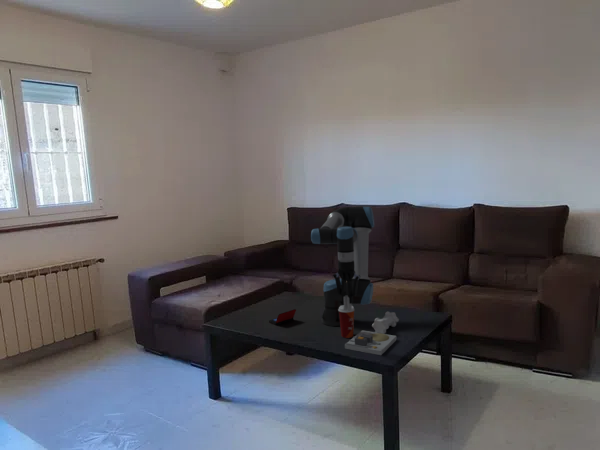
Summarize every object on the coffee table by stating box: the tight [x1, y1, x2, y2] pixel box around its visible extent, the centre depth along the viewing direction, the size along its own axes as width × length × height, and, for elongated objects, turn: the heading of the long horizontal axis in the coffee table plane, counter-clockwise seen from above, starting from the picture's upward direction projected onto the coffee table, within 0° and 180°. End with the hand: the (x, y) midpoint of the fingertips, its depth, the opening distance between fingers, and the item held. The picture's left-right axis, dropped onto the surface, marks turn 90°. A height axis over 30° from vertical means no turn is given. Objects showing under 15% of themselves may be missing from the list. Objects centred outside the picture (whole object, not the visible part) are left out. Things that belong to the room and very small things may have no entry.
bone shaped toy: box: [371, 311, 400, 334], centre depth 235 cm, size 15×9×8 cm, turn 143°
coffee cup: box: [338, 305, 356, 339], centre depth 229 cm, size 8×8×15 cm
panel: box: [344, 330, 397, 356], centre depth 217 cm, size 18×20×5 cm
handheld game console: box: [268, 308, 297, 326], centre depth 255 cm, size 12×11×7 cm
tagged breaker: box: [355, 336, 367, 346], centre depth 212 cm, size 5×3×3 cm, turn 58°
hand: (347, 309), depth 213 cm, fingers closed
